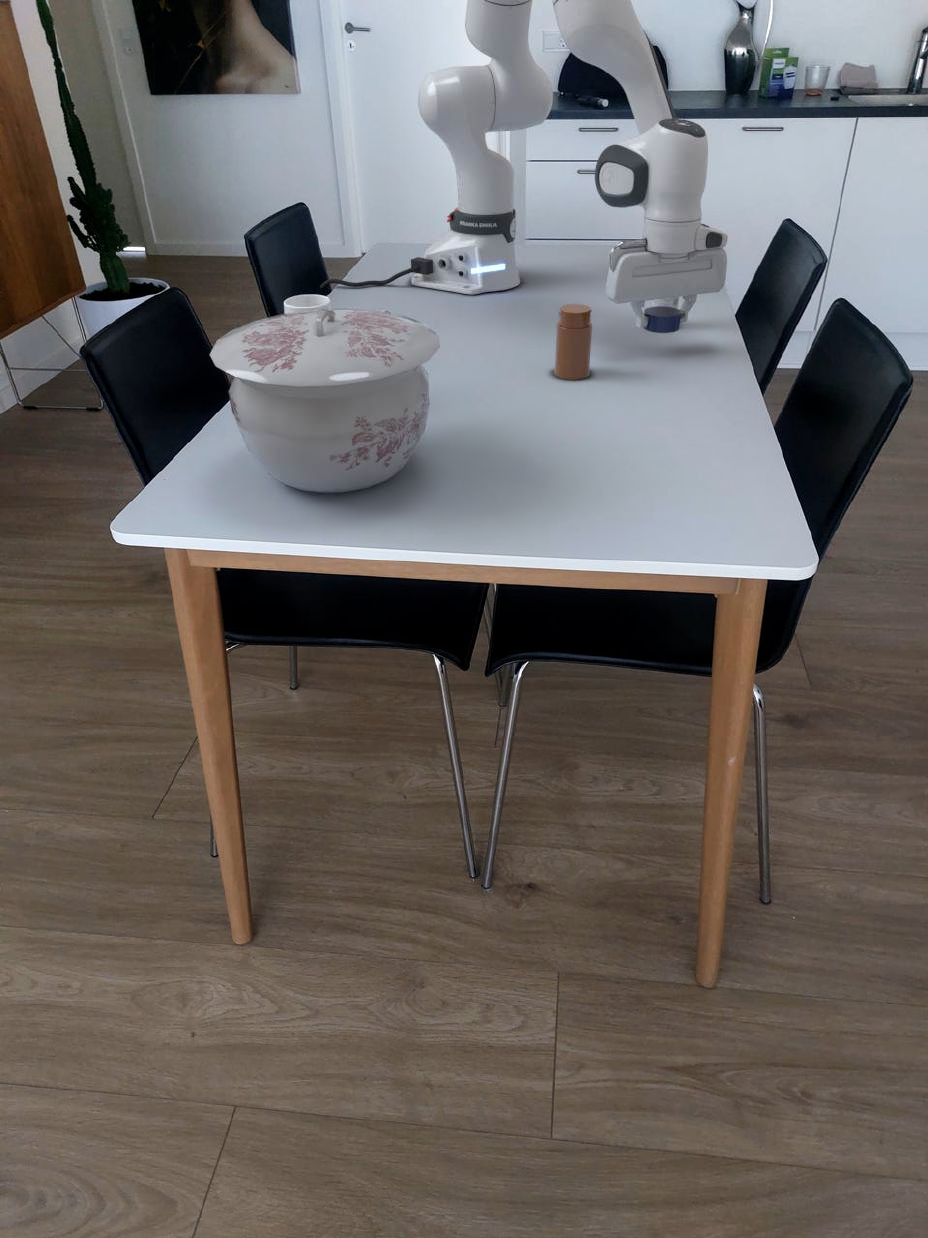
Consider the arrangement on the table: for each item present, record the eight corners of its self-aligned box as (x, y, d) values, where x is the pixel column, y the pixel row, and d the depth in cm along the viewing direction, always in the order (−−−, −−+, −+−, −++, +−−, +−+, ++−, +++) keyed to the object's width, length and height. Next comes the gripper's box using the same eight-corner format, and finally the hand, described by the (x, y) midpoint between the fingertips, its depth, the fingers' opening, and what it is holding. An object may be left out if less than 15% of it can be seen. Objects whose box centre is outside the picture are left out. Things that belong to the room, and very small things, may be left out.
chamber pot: (269, 540, 108) (243, 362, 96) (206, 452, 128) (178, 296, 117) (485, 487, 118) (485, 321, 107) (395, 413, 139) (387, 266, 127)
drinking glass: (347, 396, 145) (339, 296, 136) (327, 412, 139) (317, 309, 131) (307, 391, 146) (296, 292, 138) (286, 407, 141) (274, 305, 133)
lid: (686, 326, 157) (688, 310, 156) (666, 335, 154) (667, 318, 152) (656, 319, 161) (657, 303, 159) (635, 327, 157) (637, 311, 156)
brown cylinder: (550, 377, 150) (553, 311, 144) (559, 366, 154) (562, 301, 149) (584, 381, 149) (588, 314, 143) (592, 369, 153) (596, 304, 147)
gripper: (620, 246, 144) (613, 336, 152) (737, 234, 149) (724, 322, 157) (602, 237, 149) (596, 325, 157) (715, 226, 154) (704, 312, 162)
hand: (661, 324), depth 157 cm, fingers closed on lid, 6 cm apart
